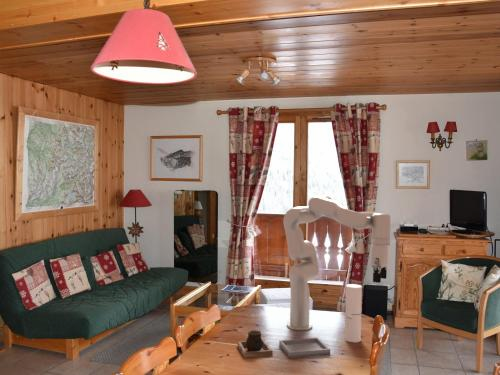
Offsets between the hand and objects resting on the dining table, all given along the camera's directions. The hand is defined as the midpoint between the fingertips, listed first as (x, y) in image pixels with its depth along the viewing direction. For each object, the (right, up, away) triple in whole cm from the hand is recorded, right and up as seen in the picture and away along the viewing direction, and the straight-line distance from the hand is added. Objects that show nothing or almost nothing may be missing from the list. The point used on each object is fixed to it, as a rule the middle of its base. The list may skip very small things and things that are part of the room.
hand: (379, 280), depth 198 cm
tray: (-34, -30, -4) cm, 45 cm away
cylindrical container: (-9, -30, +10) cm, 33 cm away
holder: (-55, -29, -5) cm, 63 cm away
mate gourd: (-55, -29, -5) cm, 63 cm away
